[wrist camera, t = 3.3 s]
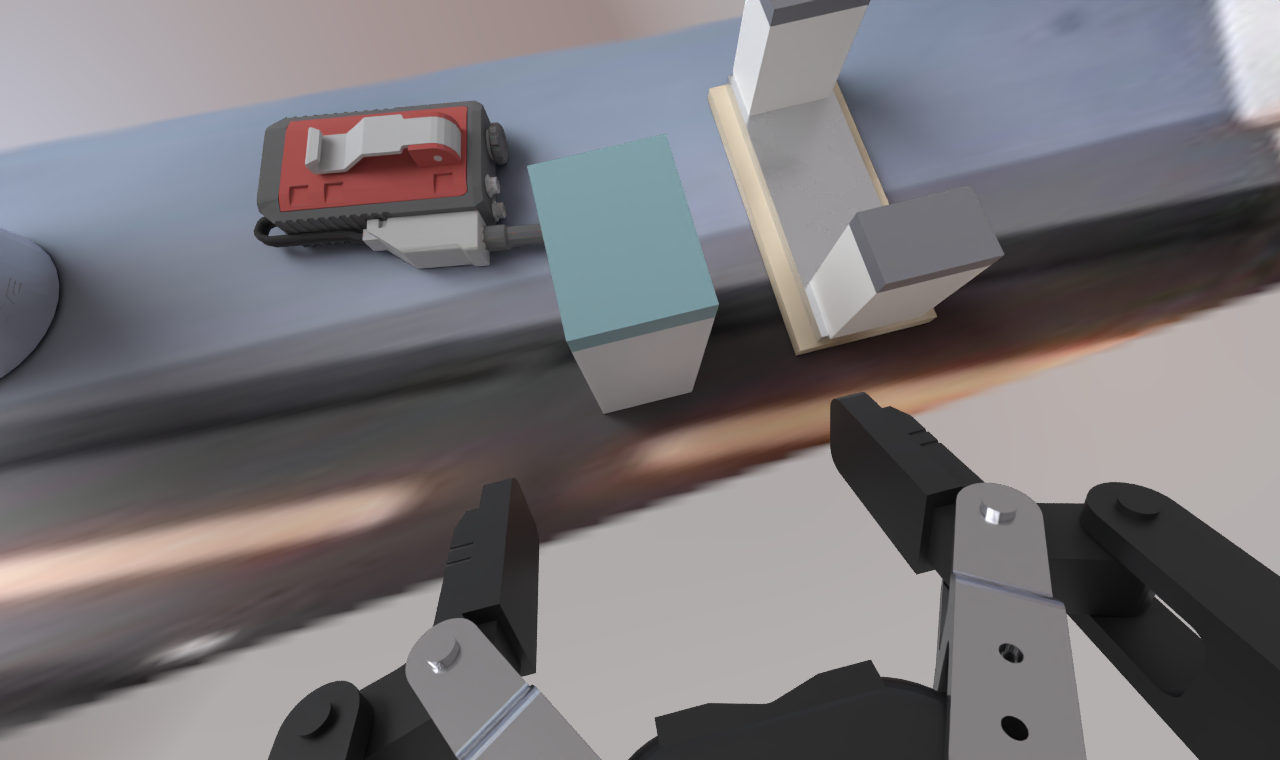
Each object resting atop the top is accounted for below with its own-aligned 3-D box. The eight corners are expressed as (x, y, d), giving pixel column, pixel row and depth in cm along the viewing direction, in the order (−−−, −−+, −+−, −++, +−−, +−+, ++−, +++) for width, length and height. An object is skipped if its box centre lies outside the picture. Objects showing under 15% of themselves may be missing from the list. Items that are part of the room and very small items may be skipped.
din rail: (816, 342, 25) (821, 336, 24) (725, 87, 29) (727, 76, 28) (918, 317, 25) (926, 311, 24) (814, 67, 29) (818, 55, 28)
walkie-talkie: (271, 289, 28) (638, 257, 28) (201, 248, 24) (636, 210, 23) (286, 151, 30) (626, 121, 30) (225, 91, 26) (622, 55, 26)
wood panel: (795, 355, 26) (800, 350, 25) (707, 99, 30) (709, 88, 29) (928, 322, 26) (937, 316, 25) (823, 73, 30) (828, 61, 29)
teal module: (603, 414, 25) (566, 341, 15) (577, 304, 27) (527, 165, 16) (691, 392, 25) (718, 304, 15) (661, 284, 27) (665, 133, 16)
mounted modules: (830, 339, 24) (885, 284, 18) (732, 71, 28) (753, -43, 22) (921, 316, 24) (1004, 254, 19) (811, 53, 28) (851, -65, 23)
